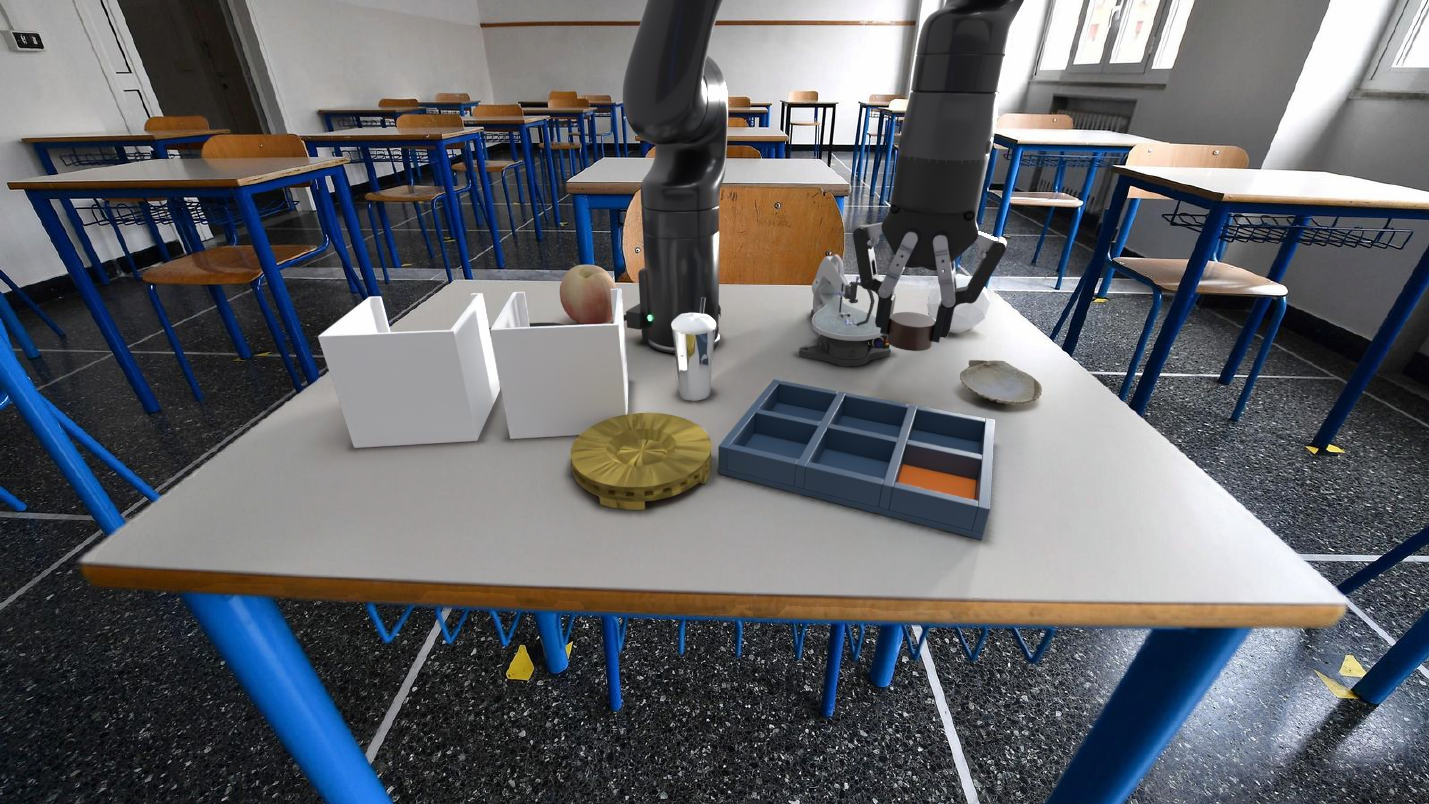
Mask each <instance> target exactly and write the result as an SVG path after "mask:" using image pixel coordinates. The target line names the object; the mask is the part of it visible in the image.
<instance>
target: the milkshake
mask: <svg viewBox="0 0 1429 804" xmlns="http://www.w3.org/2000/svg"><path fill="white" fill-rule="evenodd" d="M705 299H706V298H705V297H702V298H701V305H700V313H685V314H680V315H679V316H678V317H676V318H675V319H674V320H673V321H672V323H671V327H672V333H673V341H674V348H675V353H674V355H675V365H676V375H677V381H678V382H677V384H678V392H679V395H680V397H681V399H683V400H686V401H689V402H699V401H703V400H706V399H707V398H708V397H709V396H710V394H711V385H712V371H713V359H714V348H715V346H714V338H715V329H716V322H715V321H714V319H713V318H711V317H710V316H709V315H707V314H704V307H705Z"/></svg>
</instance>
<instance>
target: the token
mask: <svg viewBox="0 0 1429 804" xmlns="http://www.w3.org/2000/svg"><path fill="white" fill-rule="evenodd" d="M935 322H936V320H935V319H933V318H932V317H930V316H929V315H927V314H923V313H919V312H913V311H912V312H911V311H902V312H895V313H893V315H892V316H891V317H890V323H889V329H888V334H887V342H888V343H889V344H890V346H891V347H893V348H896V349H899V350H904V351H907V352H908V351H909V352H923V351H928V350H930V349H931V348H932V346H933V342H932V337H933V332H934V327H935Z"/></svg>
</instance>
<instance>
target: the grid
mask: <svg viewBox="0 0 1429 804" xmlns="http://www.w3.org/2000/svg"><path fill="white" fill-rule="evenodd" d="M995 425H996V419H992V418H987V417H980V416H975V415H970V414H966V413H965V414H964V413H958V412H953V411H948V410H942V409H938V408H937V409H936V408H931V407H925V406H921V405H915V404H908V403H904V402H899V401H893V400H888V399H883V398H877V397H872V396H868V395H867V396H866V395H861V394H856V393H850V392H846V391H840V390H839V391H838V390H835V389H829V388H824V387H817V386H813V385H807V384H801V383H795V382H790V381H786V380H785V381H784V380H780V379H773V380H772V381H771V382H770V383H769V385H768V386H767V387H766V388H765V389H764V391H762V393H761V394H760V395H759V396H758V398H756V400H755V401H754V403H753V404H752V405H751V406H750V407H749V409H747V411H746V412H745V414H743V416H742V417H741V418H740V420H739V421H738V422H737V423H736V424H735V425H734V427H732V429H731V430H730V432H729V433H728V434H727V435H726V436H725V438H723V440H722V441H721V442H720V443H719V445H718V449H717V450H718V451H717V453H718V461H717V463H718V466H717V469H718V471H717V473H718V474H719V475H722V476H727V477H732V478H735V479H738V480H742V481H746V482H751V483H755V484H759V485H763V486H767V487H769V488H770V487H771V488H775V489H778V490H783V491H787V492H791V493H795V494H799V495H803V496H806V497H810V498H813V499H818V500H822V501H826V502H830V503H833V504H838V505H842V506H846V507H850V508H854V509H857V510H861V511H866V512H870V513H873V514H878V515H881V516H884V517H885V516H886V517H890V518H893V519H898V520H900V521H901V520H902V521H906V522H909V523H913V524H917V525H920V526H921V525H922V526H925V527H928V528H933V529H936V530H941V531H945V532H949V533H953V534H957V535H961V536H965V537H969V538H973V539H977V540H980V541H982V540H983V538H984V535H985V534H984V533H985V530H986V526H987V523H988V518H989V515H990V511H991V499H992V498H991V497H992V480H993V479H992V478H993V461H994V444H995V442H994V441H995Z"/></svg>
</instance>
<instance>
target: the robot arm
mask: <svg viewBox="0 0 1429 804" xmlns="http://www.w3.org/2000/svg"><path fill="white" fill-rule="evenodd" d="M723 1H724V0H646V4H645V7H644V10H643V14H642V17H641V20H640V23H639V26H638V29H637V33H636V36H635V39H634V41H633V45H632V49H631V52H630V55H629V58H628V62H627V65H626V69H625V73H624V78H623V84H622V105H623V111H624V115H625V117H626V120H627V123H628V125H629V126H630V128H631V130H632V131H633V132H634V134H635V135H636V136H637V137H638V138H640V139H641V140H642V141H644V142H646V143H648V144H653V145H655V146H654V147H655V148H654V159H653V162H652V166H651V167H650V168H649V171H648V172H647V174H646V175H645V176H644V177H643V179H642V181H641V183H640V205H641V206H640V207H641V226H642V228H641V229H642V241H643V262H644V267H643V268H641V269H640V270H638V272H637V275H638V276H637V277H638V279H637V280H638V293H639V295H638V296H639V303H638V304H636V305H634V306H633V307H631V308H629V309H627V310H626V311H625V314H623V317H624V322H626V328H627V329H634V330H640V331H641V342H642V344H646V345H649V346H650V347H651V348H653V349H655V350H657V351H660V352H663V353H668V354H675V348H674V341H673V333H672V327H671V323H672V321H673V320H674V319H675V318H676V317H678V316H679V315H680V314H685V313H700V305H701V298H702V297H705V298H706V299H705V307H704V314H707V315H709V316H710V317H711V318H713V319H714V321H715V322H716V329H715V338H714V347H716V346H717V345H718V344H720V343H719V342H720V319H721V317H722V308H721V305H720V192H721V188H722V185H723V182H724V179H725V176H726V168H727V151H728V150H727V149H728V148H727V147H728V145H727V144H728V129H729V128H728V127H729V125H728V124H729V98H728V97H729V96H728V89H727V85H726V80H725V77H724V75H723V72H722V70H721V68H720V67H719V65H718V64H717V63H716V61H714V59H713V58H712V57H710V56H709V55H708V52H709V48H710V44H711V39H712V36H713V32H714V28H715V24H716V21H717V19H718V14H719V11H720V9H721V7H722V4H723ZM1025 3H1026V0H945V3H944V5H943V7H942V8H940V9H937V10H936V11H934V12H932V13H930V14H929V15H928V16H927V17H926V19H925V21H924V22H923V24H922V26H921V30H920V33H919V37H918V42H917V47H916V52H915V53H916V54H915V55H916V56H915V60H914V67H913V72H912V73H913V74H912V80H911V87H910V91H911V92H910V93H909V97H908V102H907V106H906V109H905V112H904V116H903V121H902V125H901V131H900V135H899V138H898V142H897V143H898V144H897V148H898V152H897V160H896V165H895V166H896V167H895V173H894V179H893V186H892V193H891V200H890V204H889V205H890V207H889V210H888V212H887V215H886V216H885V218H883V220H882V222H877V223H871V224H868V223H862V224H859V226H857V227H856V228H855V229H854V230H853V232H852V239H853V245H854V252H855V256H856V263H857V269H858V276H859V277H860V278H859V283H860V282H861V286H862V287H861V286H860V287H861V288H862V289H864V290H867V289H870V290H872V292H873V293H875V294H876V295H877V307H876V312H875V317H876V319H875V324H876V327H879V328H881V329H880V333H881V334H888V329H889V323H890V317H891V316H892V315H893V314H894V309H895V305H896V297H897V293H895V288H896V286H897V284H898V282H899V280H900V278H901V276H902V274H903V272H904V271H905V269H906V268H910V269H915V268H924V269H926V270H928V271H934V272H936V274H937V275H936V276H937V281H938V282H937V283H939V285H940V292H941V302H940V304H939V307H938V312H937V317H936V322H935V327H934V332H933V337H932V343H937V344H940V341H941V339H942V338H943V339H946V338H947V337H948V335H949V334H950V332H949V331H950V327H951V323H952V318H953V313H954V309H955V307H956V306H957V305H959V304H963V303H969V304H971V303H974V302H975V301H976V300H977V299H978V297H979V295H980V293H981V292H982V290H983V288H984V287H986V285H987V284H988V282H989V280H990V278H991V277H992V275H993V274H994V272H995V270H996V268H997V266H998V265H999V263H1000V261H1001V259H1002V258H1003V256H1004V255H1005V253H1006V251H1007V243H1008V242H1007V240H1006V238H1005V237H1003V236H997V237H994V236H993V235H992V236H991V235H989V234H987V233H984V232H982V231H980V226H979V224H978V223H979V222H978V217H977V216H978V211H979V206H980V202H981V198H982V193H983V188H984V184H985V179H986V174H987V171H988V165H989V161H990V156H991V151H992V149H993V145H994V137H995V132H996V127H997V121H998V108H999V100H1000V93H1001V91H1002V84H1003V80H1004V76H1005V69H1006V66H1007V62H1008V56H1009V51H1010V45H1011V38H1012V35H1013V31H1014V28H1015V26H1016V23H1017V21H1018V18H1019V17H1020V14H1021V13H1022V10H1023V7H1024V5H1025ZM881 235H883V236H884V238H885V240H886V242H887V244H888V245H889V247H890V249H891V251H892V253H893V255H894V257H893V260H892V261H891V263H890V265H889V267H888V269H887V272H886V274H885V276H884V277H883V276H881V275H879V274H878V273H879V272H878V267H877V260H876V255H875V254H876V253H875V248H876V246H878V244H879V242H880V236H881ZM973 244H975V245H976V246H977V251H976V258H977V259H978V260H979V261H980V262H979V264H978V266H977V267H976V270H975V271H974V273H973V274H972V276H971V277H972V278H971V280H970V282H969V283H968V285H967V286H966V287H960V288H957V284H956V274H957V271H956V270H957V269H956V263H955V261H957V259H958V258H960V257H961V255H962V254H964V253H965V252H966V251H967V250H968V249H969V248H970V247H971V246H972V245H973ZM610 324H613V321H612V322H611V323H610ZM529 325H530V327H539V326H565V325H566V324H563V323H560V322H529ZM491 328H492V326H491V327H489V330H491ZM490 334H491V331H490Z"/></svg>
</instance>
